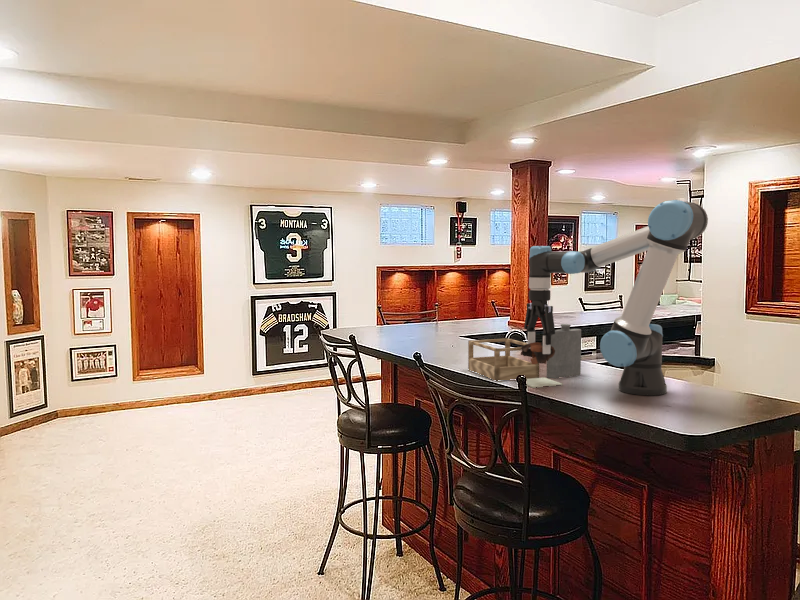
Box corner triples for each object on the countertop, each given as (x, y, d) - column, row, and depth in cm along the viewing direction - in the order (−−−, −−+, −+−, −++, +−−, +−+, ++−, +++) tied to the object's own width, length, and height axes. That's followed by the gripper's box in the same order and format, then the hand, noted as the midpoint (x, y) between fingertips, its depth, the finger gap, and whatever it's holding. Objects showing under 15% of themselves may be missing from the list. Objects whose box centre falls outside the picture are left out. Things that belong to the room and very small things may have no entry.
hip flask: (576, 373, 240) (577, 322, 239) (584, 375, 237) (584, 323, 235) (544, 377, 233) (545, 324, 231) (552, 379, 229) (552, 325, 228)
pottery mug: (523, 366, 215) (518, 344, 219) (525, 373, 224) (520, 352, 227) (558, 358, 213) (551, 336, 217) (558, 365, 222) (552, 344, 225)
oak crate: (539, 378, 231) (539, 346, 230) (496, 381, 225) (496, 349, 225) (508, 367, 254) (508, 338, 253) (468, 370, 248) (468, 340, 247)
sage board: (562, 385, 218) (562, 383, 218) (532, 387, 214) (532, 386, 214) (544, 379, 230) (544, 377, 230) (515, 381, 226) (515, 379, 226)
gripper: (566, 291, 210) (565, 355, 212) (532, 287, 231) (531, 346, 233) (547, 291, 208) (546, 357, 210) (514, 287, 229) (514, 347, 231)
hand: (538, 351), depth 221 cm, fingers closed on pottery mug, 9 cm apart
